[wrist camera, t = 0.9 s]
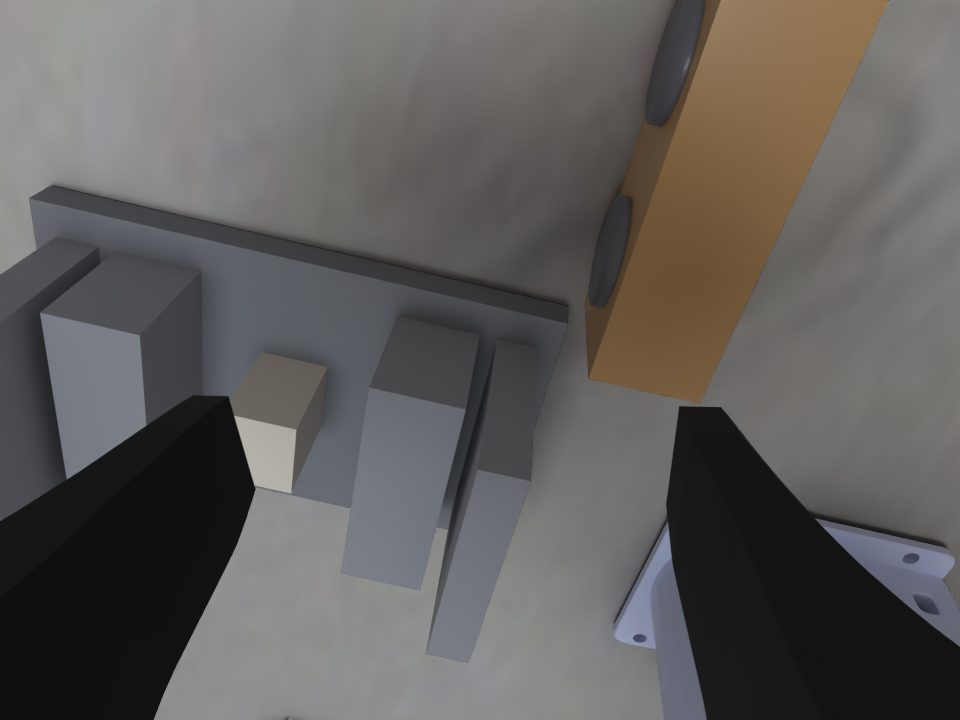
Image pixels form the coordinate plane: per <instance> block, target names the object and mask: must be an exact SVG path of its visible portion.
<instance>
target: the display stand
mask: <svg viewBox="0 0 960 720" xmlns="http://www.w3.org/2000/svg"><path fill="white" fill-rule="evenodd" d="M29 202H30V208H31V215H32V221H33V228H34V234H35V241H36V247H37V250H36V251H34V252H33V253H31V254H30V255H28V256H27V257H26V258H24V259H23V260H21V261H20V262H18V263H17V264H15V265H14V266H12V267H11V268H10V269H8V270H7V271H5V272H4V273H2V274H1V275H0V521H1V520H3V519H4V518H6V517H8V516H9V515H11V514H13V513H14V512H16V511H18V510H19V509H21V508H23V507H24V506H26V505H27V504H29V503H30V502H32V501H34V500H35V499H37V498H38V497H40V496H41V495H43V494H45V493H46V492H48V491H49V490H51V489H52V488H54V487H56V486H57V485H59V484H60V483H62V482H64V481H65V480H67V479H68V478H70V477H71V476H73V475H75V474H76V473H78V472H79V471H81V470H82V469H84V468H85V467H87V466H88V465H90V464H91V463H93V462H94V461H95V460H97V459H98V458H100V457H101V456H103V455H104V454H106V453H107V452H109V451H110V450H112V449H113V448H114V447H116V446H117V445H119V444H120V443H122V442H123V441H125V440H126V439H128V438H129V437H131V436H132V435H133V434H135V433H136V432H138V431H139V430H141V429H142V428H144V427H145V426H146V425H148V424H149V423H151V422H152V421H154V420H155V419H157V418H158V417H160V416H161V415H163V414H164V413H166V412H167V411H169V410H170V409H172V408H173V407H175V406H176V405H178V404H179V403H181V402H183V401H184V400H186V399H188V398H190V397H191V396H193V395H202V396H229V400H230V403H231V406H232V410H233V413H234V417H235V420H236V424H237V427H238V431H239V434H240V437H241V441H242V444H243V448H244V451H245V455H246V458H247V462H248V465H249V468H250V472H251V475H252V479H253V482H254V486H255V487H257V488H262V489H266V490H271V491H275V492H280V493H284V494H289V495H293V496H298V497H302V498H307V499H312V500H316V501H321V502H325V503H330V504H334V505H339V506H343V507H348V508H351V511H350V517H349V524H348V531H347V537H346V544H345V550H344V557H343V564H342V570H341V573H342V574H346V575H351V576H356V577H360V578H365V579H369V580H374V581H378V582H383V583H388V584H392V585H397V586H401V587H406V588H411V589H415V590H421V586H422V582H423V578H424V574H425V570H426V566H427V562H428V558H429V554H430V550H431V546H432V542H433V538H434V534H435V530H436V527H438V528H443V529H447V530H448V534H447V540H446V545H445V551H444V556H443V562H442V567H441V573H440V579H439V584H438V590H437V595H436V601H435V606H434V612H433V617H432V623H431V629H430V634H429V640H428V645H427V651H426V654H429V655H433V656H438V657H443V658H447V659H452V660H456V661H461V662H466V663H469V661H470V658H471V655H472V652H473V649H474V646H475V643H476V640H477V637H478V634H479V631H480V628H481V625H482V623H483V620H484V617H485V614H486V611H487V608H488V605H489V602H490V599H491V596H492V593H493V590H494V587H495V585H496V582H497V579H498V576H499V573H500V570H501V567H502V564H503V561H504V558H505V555H506V552H507V549H508V547H509V544H510V541H511V538H512V535H513V532H514V529H515V526H516V523H517V520H518V517H519V514H520V511H521V509H522V506H523V503H524V500H525V497H526V494H527V491H528V488H529V485H530V482H531V468H532V450H533V432H534V427H535V424H536V421H537V418H538V415H539V412H540V409H541V405H542V402H543V399H544V396H545V393H546V390H547V387H548V384H549V381H550V378H551V375H552V372H553V369H554V366H555V363H556V360H557V357H558V353H559V350H560V347H561V344H562V341H563V338H564V335H565V332H566V329H567V326H568V306H565V305H560V304H556V303H552V302H548V301H543V300H539V299H535V298H530V297H526V296H522V295H518V294H513V293H509V292H505V291H500V290H496V289H492V288H488V287H483V286H479V285H475V284H470V283H466V282H462V281H458V280H453V279H449V278H445V277H441V276H436V275H432V274H428V273H423V272H419V271H415V270H411V269H406V268H402V267H398V266H393V265H389V264H385V263H381V262H376V261H372V260H368V259H363V258H359V257H355V256H351V255H346V254H342V253H338V252H333V251H329V250H325V249H321V248H316V247H312V246H308V245H303V244H299V243H295V242H291V241H286V240H282V239H278V238H273V237H269V236H265V235H261V234H256V233H252V232H248V231H243V230H239V229H235V228H231V227H226V226H222V225H218V224H213V223H209V222H205V221H201V220H196V219H192V218H188V217H184V216H179V215H175V214H171V213H166V212H162V211H158V210H154V209H149V208H145V207H141V206H136V205H132V204H128V203H124V202H119V201H115V200H111V199H106V198H102V197H98V196H94V195H89V194H85V193H81V192H76V191H72V190H68V189H64V188H59V187H55V186H49V187H48V188H46V189H44V190H42V191H41V192H39V193H37V194H36V195H34V196H32V197H30V198H29Z"/></svg>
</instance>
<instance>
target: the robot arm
mask: <svg viewBox="0 0 960 720" xmlns="http://www.w3.org/2000/svg"><path fill="white" fill-rule="evenodd" d="M254 492H255V486H254V482H253V479H252V475H251V472H250V468H249V465H248V462H247V458H246V455H245V451H244V448H243V444H242V441H241V437H240V434H239V431H238V427H237V424H236V420H235V417H234V413H233V410H232V406H231V403H230V400H229V396H202V395H193V396H191V397H190V398H188V399H186V400H184V401H183V402H181V403H179V404H178V405H176V406H175V407H173V408H172V409H170V410H169V411H167V412H166V413H164V414H163V415H161V416H160V417H158V418H157V419H155V420H154V421H152V422H151V423H149V424H148V425H146V426H145V427H144V428H142V429H141V430H139V431H138V432H136V433H135V434H133V435H132V436H131V437H129V438H128V439H126V440H125V441H123V442H122V443H120V444H119V445H117V446H116V447H114V448H113V449H112V450H110V451H109V452H107V453H106V454H104V455H103V456H101V457H100V458H98V459H97V460H95V461H94V462H93V463H91V464H90V465H88V466H87V467H85V468H84V469H82V470H81V471H79V472H78V473H76V474H75V475H73V476H71V477H70V478H68V479H67V480H65V481H64V482H62V483H60V484H59V485H57V486H56V487H54V488H52V489H51V490H49V491H48V492H46V493H45V494H43V495H41V496H40V497H38V498H37V499H35V500H34V501H32V502H30V503H29V504H27V505H26V506H24V507H23V508H21V509H19V510H18V511H16V512H14V513H13V514H11V515H9V516H8V517H6V518H4V519H3V520H1V521H0V720H154V717H155V715H156V712H157V710H158V707H159V704H160V702H161V699H162V697H163V694H164V692H165V690H166V687H167V685H168V683H169V681H170V679H171V676H172V674H173V672H174V670H175V668H176V665H177V663H178V662H179V660H180V658H181V656H182V654H183V652H184V650H185V648H186V646H187V644H188V642H189V640H190V638H191V636H192V634H193V632H194V630H195V628H196V626H197V624H198V622H199V620H200V618H201V616H202V614H203V612H204V610H205V608H206V606H207V604H208V602H209V600H210V598H211V596H212V594H213V592H214V590H215V588H216V586H217V584H218V582H219V580H220V578H221V576H222V574H223V572H224V570H225V568H226V566H227V564H228V562H229V560H230V558H231V556H232V554H233V552H234V550H235V547H236V545H237V543H238V540H239V537H240V535H241V532H242V529H243V526H244V523H245V521H246V518H247V515H248V511H249V508H250V505H251V502H252V499H253V496H254ZM666 506H667V517H668V521H667V523H666V525H665V527H664V529H663V531H662V533H661V535H660V537H659V538H658V540H657V542H656V544H655V546H654V548H653V550H652V552H651V554H650V556H649V558H648V560H647V562H646V564H645V566H644V568H643V570H642V572H641V574H640V576H639V578H638V579H637V581H636V583H635V585H634V587H633V589H632V591H631V593H630V595H629V597H628V599H627V601H626V603H625V605H624V607H623V609H622V611H621V613H620V615H619V617H618V619H617V620H616V622H615V624H614V636H615V638H616V639H617V640H618V641H621V642H623V643H628V644H632V645H637V646H642V647H646V648H651V649H655V650H656V655H657V663H658V672H659V680H660V688H661V696H662V705H663V713H664V720H960V610H959V608H958V606H957V604H956V602H955V601H954V599H953V597H952V595H951V593H950V591H949V590H948V588H947V586H946V584H945V582H944V581H943V578H944V577H945V576H946V574H947V573H948V572H949V571H950V570H951V569H952V568H953V566H954V564H955V559H954V557H953V555H952V554H951V552H950V551H949V550H948V549H946V548H944V547H940V546H936V545H931V544H927V543H922V542H918V541H913V540H909V539H905V538H900V537H896V536H891V535H887V534H882V533H878V532H874V531H869V530H865V529H860V528H856V527H851V526H847V525H843V524H838V523H834V522H829V521H825V520H820V519H816V518H814V517H813V516H812V515H811V514H810V513H809V512H808V511H807V509H806V508H805V507H804V506H803V505H802V504H801V503H800V502H799V500H798V499H797V498H796V497H795V496H794V495H793V494H792V493H791V491H790V490H789V489H788V488H787V487H786V486H785V485H784V484H783V483H782V481H781V480H780V479H779V478H778V477H777V476H776V474H775V473H774V472H773V471H772V470H771V468H770V467H769V466H768V465H767V464H766V462H765V461H764V460H763V459H762V458H761V456H760V455H759V454H758V453H757V451H756V450H755V449H754V448H753V447H752V445H751V444H750V443H749V441H748V440H747V439H746V438H745V436H744V435H743V434H742V433H741V431H740V430H739V429H738V428H737V426H736V425H735V424H734V422H733V421H732V420H731V419H730V417H729V416H728V415H727V414H726V412H725V411H724V410H723V409H722V408H721V407H686V406H679V413H678V421H677V428H676V436H675V443H674V451H673V458H672V466H671V473H670V481H669V488H668V496H667V503H666ZM910 553H911V554H910ZM907 554H908V555H907Z"/></svg>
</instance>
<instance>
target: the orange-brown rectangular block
mask: <svg viewBox="0 0 960 720" xmlns="http://www.w3.org/2000/svg"><path fill="white" fill-rule="evenodd" d="M888 1H889V0H677V2H676V4H675V6H674V8H673V11H672V13H671V15H670V18H669V21H668V23H667V26H666V29H665V31H664V34H663V37H662V40H661V43H660V47H659V50H658V53H657V57H656V60H655V64H654V68H653V72H652V76H651V80H650V85H649V90H648V95H647V102H646V112H645V118H644V121H643V124H642V128H641V131H640V134H639V137H638V140H637V143H636V146H635V149H634V152H633V155H632V159H631V162H630V165H629V168H628V171H627V174H626V177H625V180H624V183H623V186H622V190H621V193H620V194H617V195H616V197H615V198H614V200H613V201H612V203H611V206H610V208H609V210H608V213H607V215H606V218H605V221H604V224H603V227H602V230H601V233H600V236H599V240H598V244H597V248H596V252H595V256H594V260H593V265H592V271H591V277H590V284H589V292H588V295H587V298H586V301H585V319H586V339H587V359H588V379H591V380H596V381H600V382H605V383H609V384H614V385H618V386H623V387H627V388H632V389H636V390H641V391H645V392H650V393H654V394H659V395H663V396H668V397H672V398H677V399H682V400H686V401H691V402H695V403H700V402H701V400H702V398H703V396H704V393H705V391H706V389H707V387H708V385H709V383H710V381H711V379H712V376H713V374H714V372H715V370H716V368H717V366H718V364H719V361H720V359H721V357H722V355H723V353H724V351H725V349H726V347H727V344H728V342H729V340H730V338H731V336H732V334H733V332H734V330H735V327H736V325H737V323H738V321H739V319H740V317H741V315H742V312H743V310H744V308H745V306H746V304H747V302H748V300H749V298H750V295H751V293H752V291H753V289H754V287H755V285H756V283H757V281H758V278H759V276H760V274H761V272H762V270H763V268H764V266H765V263H766V261H767V259H768V257H769V255H770V253H771V251H772V249H773V246H774V244H775V242H776V240H777V238H778V236H779V234H780V232H781V229H782V227H783V225H784V223H785V221H786V219H787V217H788V214H789V212H790V210H791V208H792V206H793V204H794V202H795V200H796V197H797V195H798V193H799V191H800V189H801V187H802V185H803V183H804V180H805V178H806V176H807V174H808V172H809V170H810V168H811V165H812V163H813V161H814V159H815V157H816V155H817V153H818V151H819V148H820V146H821V144H822V142H823V140H824V138H825V136H826V134H827V131H828V129H829V127H830V125H831V123H832V121H833V119H834V116H835V114H836V112H837V110H838V108H839V106H840V104H841V102H842V99H843V97H844V95H845V93H846V91H847V89H848V87H849V85H850V82H851V80H852V78H853V76H854V74H855V72H856V70H857V67H858V65H859V63H860V61H861V59H862V57H863V55H864V53H865V50H866V48H867V46H868V44H869V42H870V40H871V38H872V36H873V33H874V31H875V29H876V27H877V25H878V23H879V21H880V18H881V16H882V14H883V12H884V10H885V8H886V6H887V4H888Z"/></svg>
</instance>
